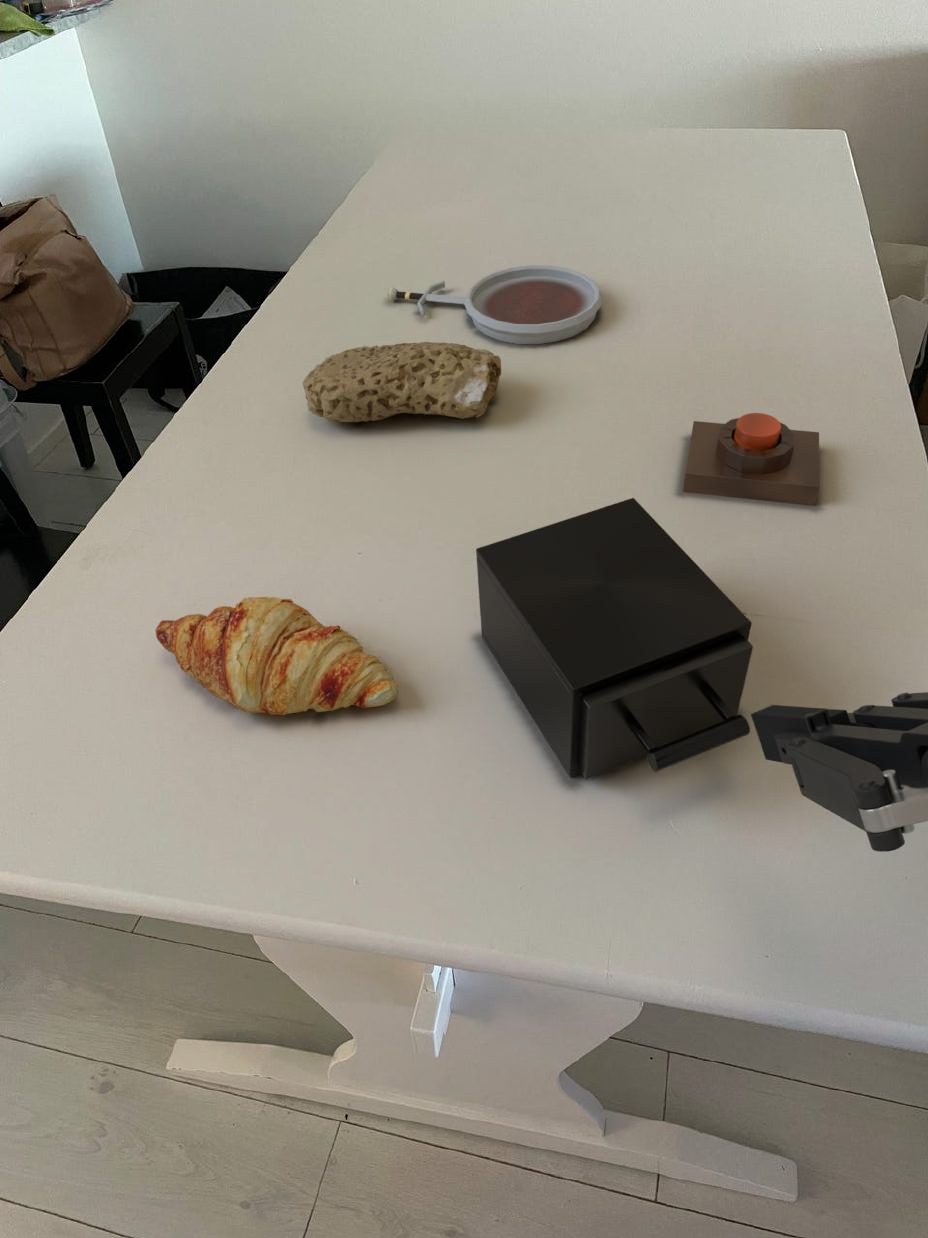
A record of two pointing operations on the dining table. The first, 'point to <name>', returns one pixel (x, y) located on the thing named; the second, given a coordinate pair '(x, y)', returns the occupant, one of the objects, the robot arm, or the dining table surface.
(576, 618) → the black drawer unit
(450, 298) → the frying pan
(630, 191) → the dining table surface
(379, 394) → the sponge
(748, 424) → the button
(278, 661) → the croissant
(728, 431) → the control block
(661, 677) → the open drawer with handle
